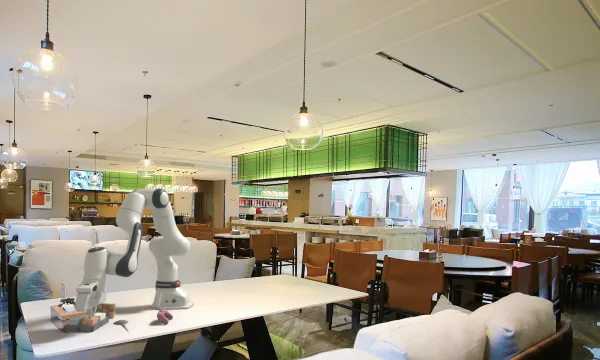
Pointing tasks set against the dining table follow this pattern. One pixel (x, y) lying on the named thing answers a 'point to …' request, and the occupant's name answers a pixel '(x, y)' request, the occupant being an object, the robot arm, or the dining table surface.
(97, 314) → the key cream
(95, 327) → the keypad
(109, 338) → the dining table surface
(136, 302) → the dining table surface
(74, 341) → the dining table surface
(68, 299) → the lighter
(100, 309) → the stand
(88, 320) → the key terracotta
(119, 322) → the soupspoon
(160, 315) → the pink neck pillow
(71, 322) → the key blue
